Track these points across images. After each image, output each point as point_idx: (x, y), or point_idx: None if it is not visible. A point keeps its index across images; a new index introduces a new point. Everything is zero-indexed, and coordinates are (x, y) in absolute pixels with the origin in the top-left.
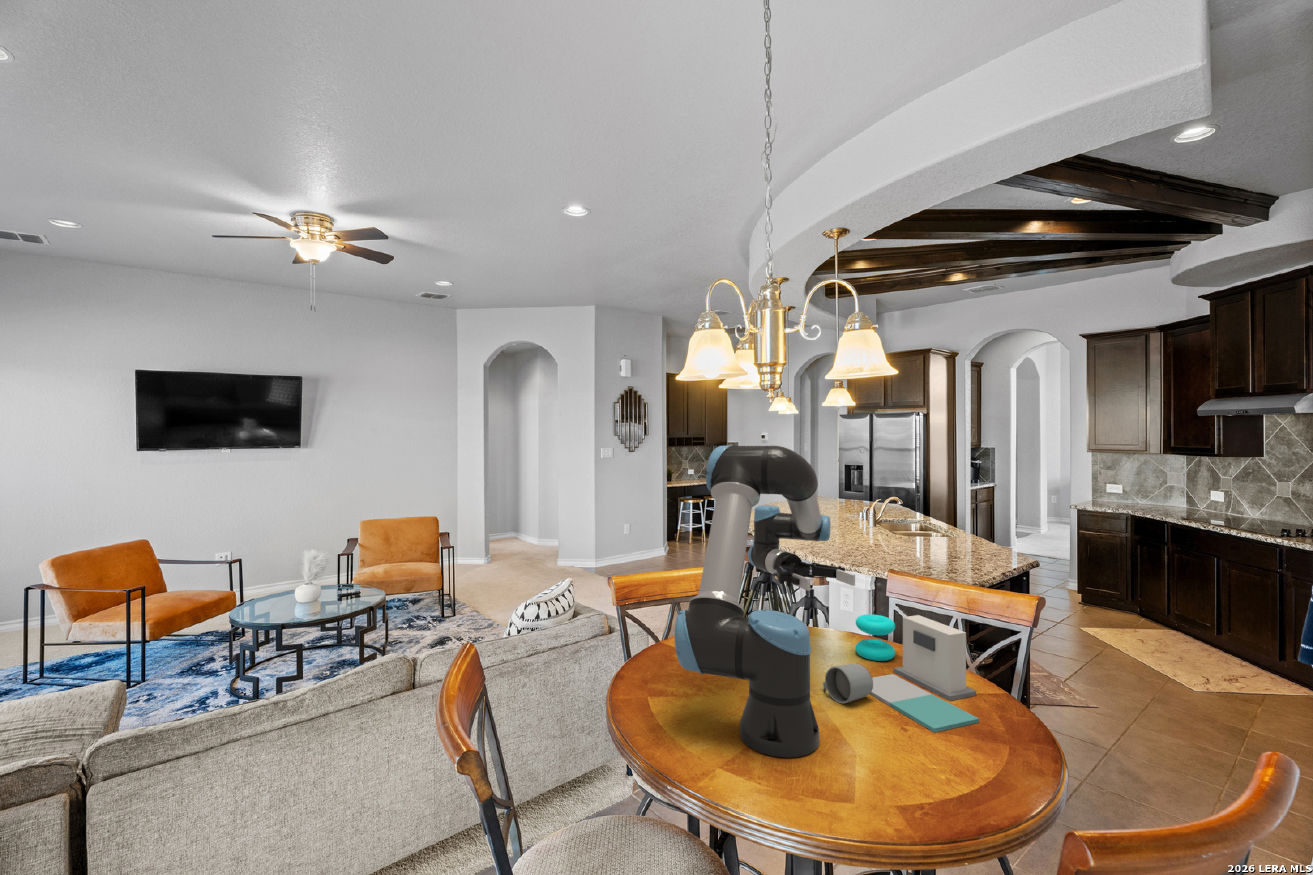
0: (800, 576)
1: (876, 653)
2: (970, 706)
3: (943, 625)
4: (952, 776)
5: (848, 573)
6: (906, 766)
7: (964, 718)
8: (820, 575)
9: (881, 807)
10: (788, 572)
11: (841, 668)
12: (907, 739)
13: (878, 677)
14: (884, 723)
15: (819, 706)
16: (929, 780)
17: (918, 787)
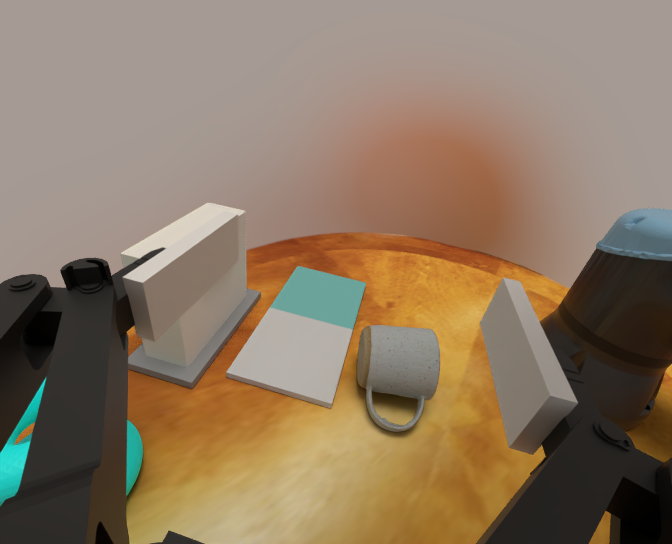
0: (535, 328)
1: (136, 433)
2: (257, 281)
3: (185, 220)
4: (419, 263)
5: (215, 227)
6: (447, 284)
7: (311, 272)
8: (123, 454)
9: (508, 278)
10: (602, 478)
11: (434, 334)
12: (406, 296)
13: (269, 381)
14: (401, 320)
15: (462, 395)
16: (443, 270)
17: (460, 272)
